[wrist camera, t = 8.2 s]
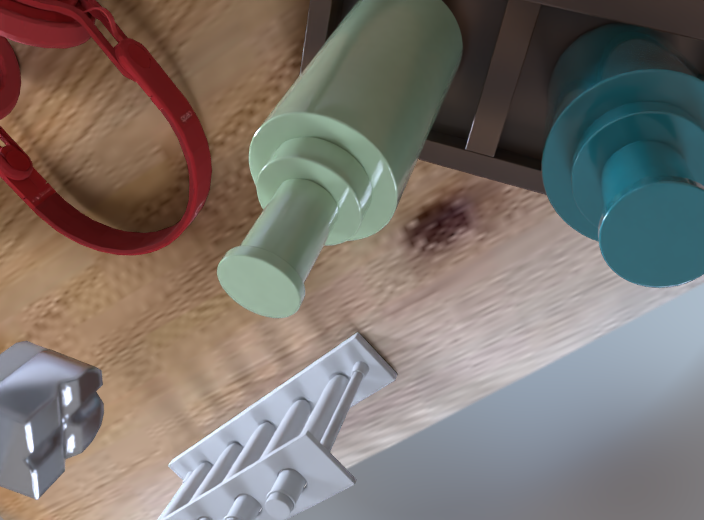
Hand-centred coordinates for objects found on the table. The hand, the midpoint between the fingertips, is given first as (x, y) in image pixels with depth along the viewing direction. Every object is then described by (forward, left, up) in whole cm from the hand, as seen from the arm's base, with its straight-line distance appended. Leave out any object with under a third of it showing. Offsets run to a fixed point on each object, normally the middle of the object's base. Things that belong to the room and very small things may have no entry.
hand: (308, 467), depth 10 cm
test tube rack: (+29, -9, -29) cm, 42 cm away
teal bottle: (-3, +6, -27) cm, 28 cm away
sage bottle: (-3, -5, -26) cm, 27 cm away
